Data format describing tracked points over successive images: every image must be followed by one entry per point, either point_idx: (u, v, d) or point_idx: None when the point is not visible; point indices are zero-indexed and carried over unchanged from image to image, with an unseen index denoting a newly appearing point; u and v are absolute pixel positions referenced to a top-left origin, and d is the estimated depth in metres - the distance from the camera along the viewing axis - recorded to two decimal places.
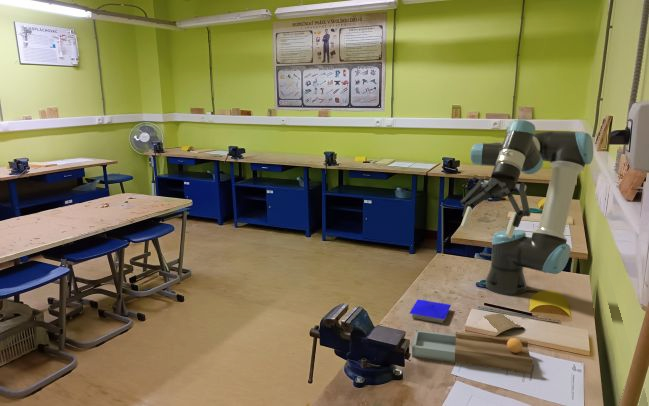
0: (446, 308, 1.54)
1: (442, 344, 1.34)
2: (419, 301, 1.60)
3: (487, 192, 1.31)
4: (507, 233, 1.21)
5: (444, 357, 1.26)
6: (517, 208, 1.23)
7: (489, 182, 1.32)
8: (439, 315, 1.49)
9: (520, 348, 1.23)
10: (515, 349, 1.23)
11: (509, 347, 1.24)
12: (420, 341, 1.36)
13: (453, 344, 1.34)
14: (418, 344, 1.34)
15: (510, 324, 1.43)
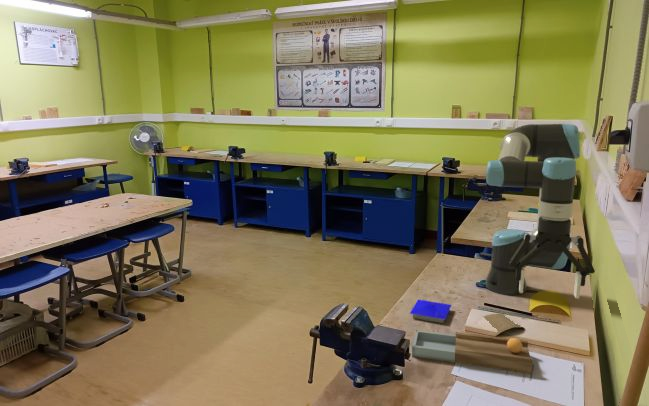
0: (447, 308, 1.54)
1: (442, 344, 1.34)
2: (419, 301, 1.60)
3: None
4: (577, 297, 1.16)
5: (444, 357, 1.26)
6: (582, 269, 1.14)
7: (539, 239, 1.16)
8: (439, 315, 1.49)
9: (520, 348, 1.23)
10: (515, 349, 1.23)
11: (509, 347, 1.24)
12: (420, 341, 1.36)
13: (453, 344, 1.34)
14: (418, 344, 1.34)
15: (510, 324, 1.43)
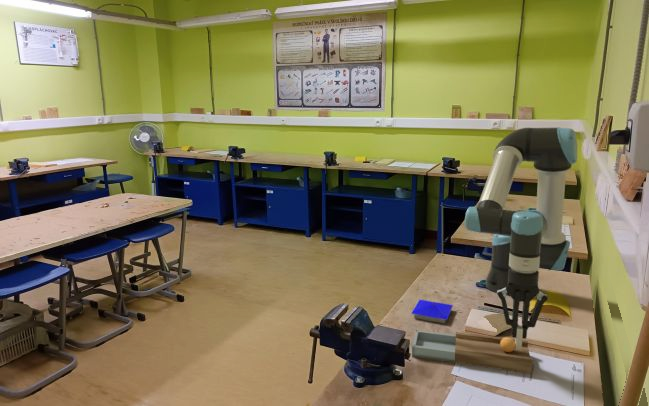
0: (448, 309, 1.54)
1: (442, 344, 1.34)
2: (421, 301, 1.60)
3: None
4: (520, 349, 1.23)
5: (444, 357, 1.26)
6: (526, 323, 1.21)
7: (510, 290, 1.21)
8: (441, 315, 1.49)
9: (512, 344, 1.23)
10: (508, 348, 1.23)
11: (504, 350, 1.24)
12: (420, 341, 1.36)
13: (453, 344, 1.34)
14: (418, 344, 1.34)
15: None
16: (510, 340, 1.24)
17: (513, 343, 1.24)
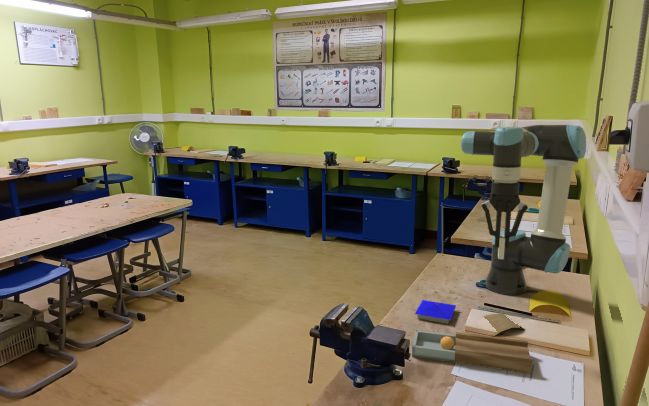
0: (451, 309, 1.54)
1: None
2: (424, 302, 1.59)
3: None
4: (502, 258, 1.32)
5: (444, 357, 1.26)
6: (508, 232, 1.30)
7: (493, 201, 1.30)
8: (445, 316, 1.48)
9: (444, 342, 1.29)
10: (447, 347, 1.29)
11: (450, 349, 1.30)
12: (420, 341, 1.36)
13: None
14: (418, 344, 1.34)
15: (510, 324, 1.43)
16: (441, 341, 1.30)
17: (444, 340, 1.30)
